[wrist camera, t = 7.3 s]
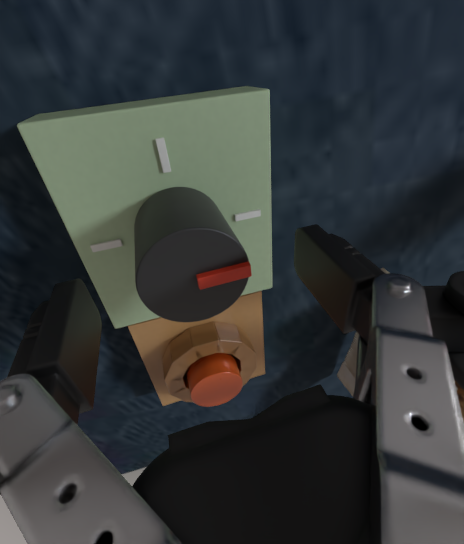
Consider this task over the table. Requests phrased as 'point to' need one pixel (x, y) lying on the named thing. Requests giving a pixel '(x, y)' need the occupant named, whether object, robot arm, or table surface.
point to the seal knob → (187, 256)
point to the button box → (201, 345)
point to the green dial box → (155, 177)
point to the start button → (214, 379)
